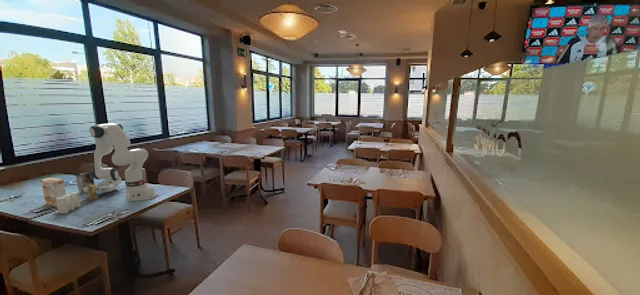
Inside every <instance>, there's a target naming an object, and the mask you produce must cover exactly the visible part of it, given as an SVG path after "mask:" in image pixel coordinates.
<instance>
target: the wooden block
mask: <svg viewBox="0 0 640 295" xmlns="http://www.w3.org/2000/svg"><path fill="white" fill-rule="evenodd" d="M95 185H96V184H95ZM95 185H88V186H87V190H88V193H87V195H88V198H89V199H97V198H98V197H99V196H98V193H95V190H96V186H95Z"/></svg>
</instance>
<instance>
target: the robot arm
mask: <svg viewBox="0 0 640 295" xmlns="http://www.w3.org/2000/svg"><path fill="white" fill-rule="evenodd" d="M89 134H90V136H91V137H92V138H93V139H94V140H95V149H94V151H93V153H92V172H91V173H92V175H93V179H95V180H102V181H100V182H98V184H95V186H96V190H95V193H97V194H98V193H105V192H108V193H109V192H113V191H115V190H116V188H117V187H118V186H120V184H121V183H122V178H121V176H120V171H119V170H118V169H117V168H115V167H103V166H102V158H103V157H104V156H107V155H108V154H111V153H112V151H113V150H115V151H114V153H113V154H112V156H111V162H112V164H113V165H114V166H117V167H119V166H120V167H121V166H127V165H129V167H128V168H127V169H125V170H124V178H125V182H124V184H125V187H126V194H125V200H126V201H127V202H133V201H134V202H135V201H146V200H151V199H154V198H156V197H157V196H158V195H159V192H157V191H156V192H155V189H154V187H153V186H151V185H149V184H148V183H146V179H143V173H142V170H143V166H144V163H145V162H146V160H147V159H148V158H149V152H148V151H147V149H145V148H134V149H133V148H132V149H128V147H130V146H131V140H130V138H129V136H127V134H126V132H125V131H124V128H123V126H122V124H121V123H119V122H113V123H102V124H101V123H100V124H94V125H92V126H90V127H89ZM84 192H86V193H85V194H88V190H87V187H84Z"/></svg>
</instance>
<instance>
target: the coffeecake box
mask: <svg viewBox="0 0 640 295" xmlns="http://www.w3.org/2000/svg"><path fill="white" fill-rule="evenodd" d="M40 182H41V187H42V193H43V197H44V202H45V205H49V206H54V207H57V202H56V198H59V197H63V195H67V191H66V187H65V182H64V179H63V178H57V177H47V178H43V179H40Z"/></svg>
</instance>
